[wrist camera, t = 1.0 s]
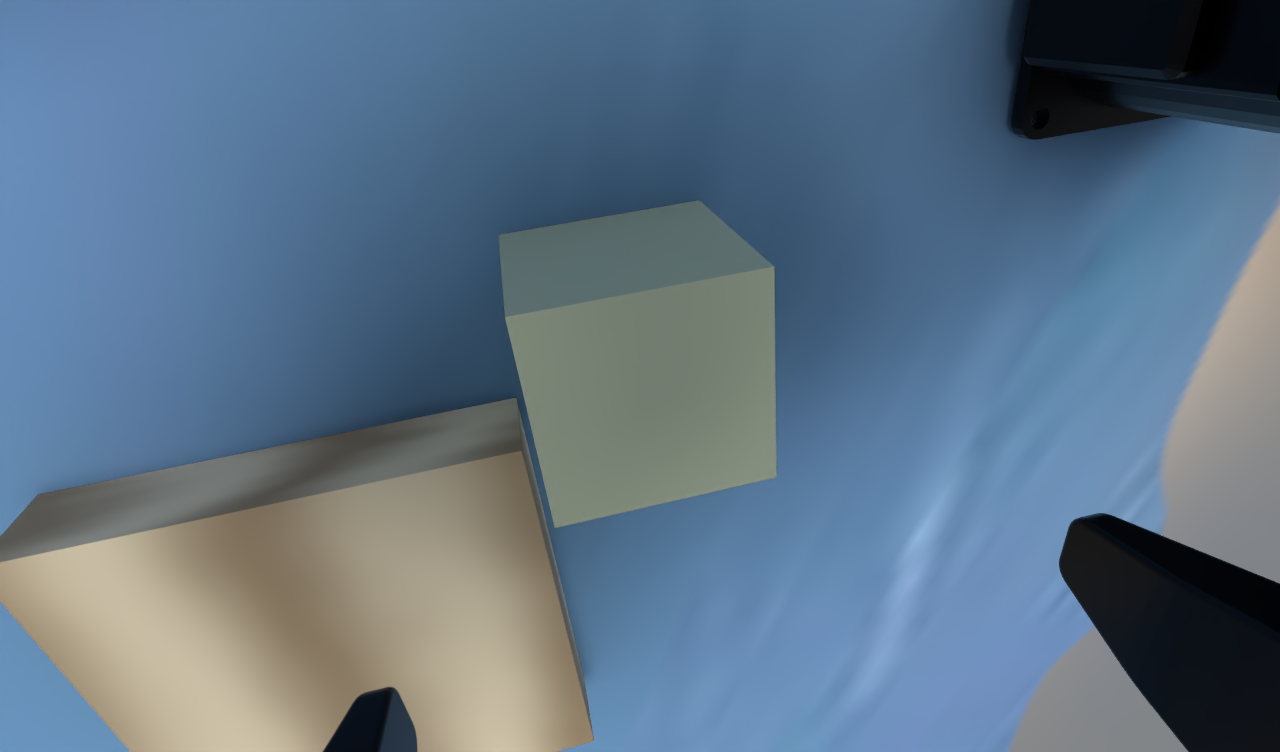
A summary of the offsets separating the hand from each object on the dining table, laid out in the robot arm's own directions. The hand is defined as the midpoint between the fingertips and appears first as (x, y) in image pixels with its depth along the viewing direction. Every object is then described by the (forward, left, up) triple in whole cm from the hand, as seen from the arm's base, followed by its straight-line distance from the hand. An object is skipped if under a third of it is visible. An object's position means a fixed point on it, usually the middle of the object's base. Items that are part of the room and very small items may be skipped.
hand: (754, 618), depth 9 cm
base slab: (+9, +8, -11) cm, 16 cm away
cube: (0, 0, -11) cm, 11 cm away
